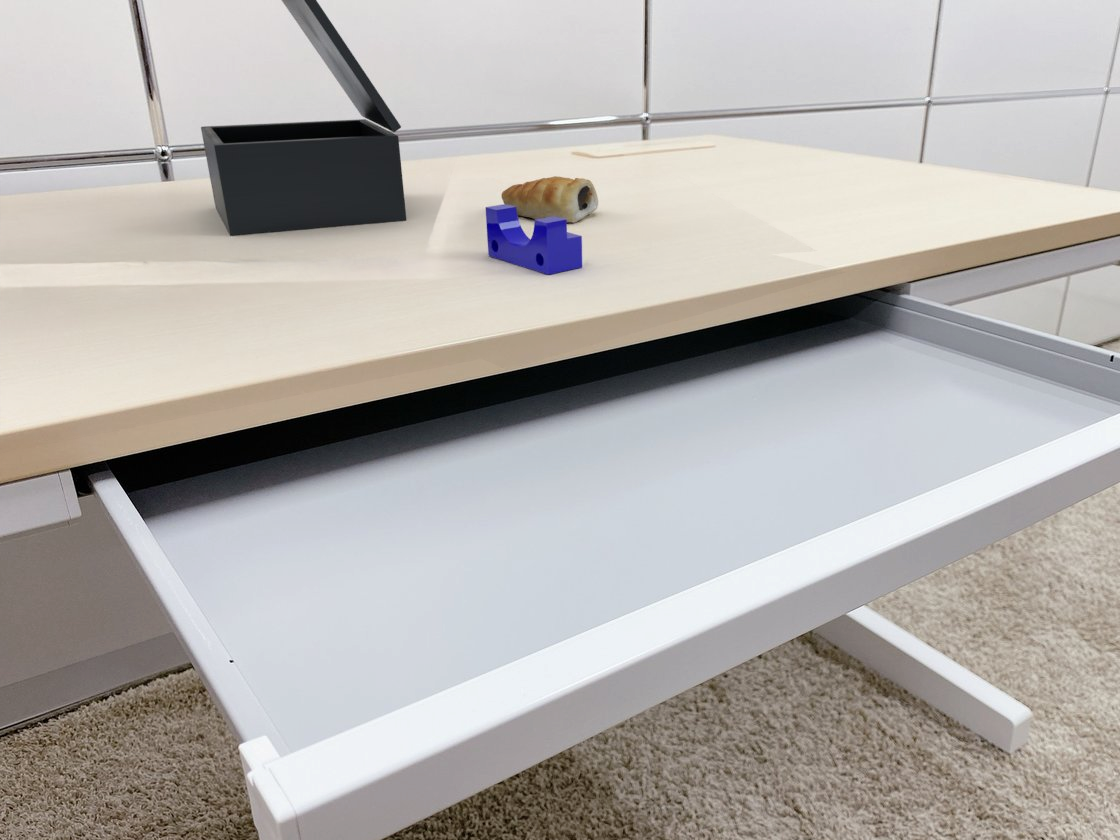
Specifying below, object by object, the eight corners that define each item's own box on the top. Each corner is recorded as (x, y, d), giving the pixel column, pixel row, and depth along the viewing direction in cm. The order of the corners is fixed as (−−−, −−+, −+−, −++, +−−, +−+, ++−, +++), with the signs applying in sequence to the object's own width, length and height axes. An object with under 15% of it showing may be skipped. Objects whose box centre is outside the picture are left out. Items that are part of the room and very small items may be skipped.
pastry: (488, 216, 96) (486, 175, 94) (523, 204, 102) (521, 166, 100) (573, 225, 93) (572, 183, 91) (604, 213, 98) (604, 173, 96)
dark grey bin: (233, 256, 81) (214, 145, 77) (218, 226, 91) (200, 126, 87) (408, 239, 87) (398, 135, 83) (376, 213, 97) (365, 119, 93)
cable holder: (582, 267, 79) (581, 216, 77) (548, 274, 77) (546, 223, 75) (522, 249, 84) (519, 201, 82) (488, 255, 82) (485, 207, 80)
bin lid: (271, -48, 74) (338, -94, 74) (250, -44, 84) (309, -85, 84) (394, 132, 83) (452, 90, 83) (361, 116, 93) (414, 78, 94)
